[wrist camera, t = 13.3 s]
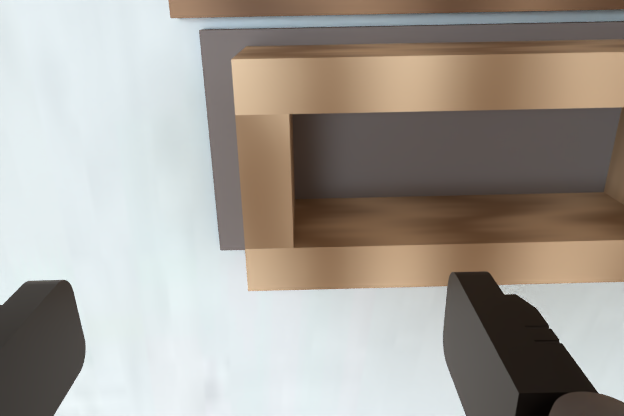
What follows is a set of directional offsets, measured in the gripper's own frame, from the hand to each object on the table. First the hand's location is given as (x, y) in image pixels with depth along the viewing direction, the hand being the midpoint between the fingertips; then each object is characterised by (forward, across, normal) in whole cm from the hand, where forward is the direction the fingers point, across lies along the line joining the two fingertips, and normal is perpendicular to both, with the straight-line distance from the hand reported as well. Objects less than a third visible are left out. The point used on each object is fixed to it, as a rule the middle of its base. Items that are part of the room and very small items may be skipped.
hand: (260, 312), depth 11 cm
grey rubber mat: (+13, -8, 0) cm, 15 cm away
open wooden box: (+13, -8, 0) cm, 15 cm away
